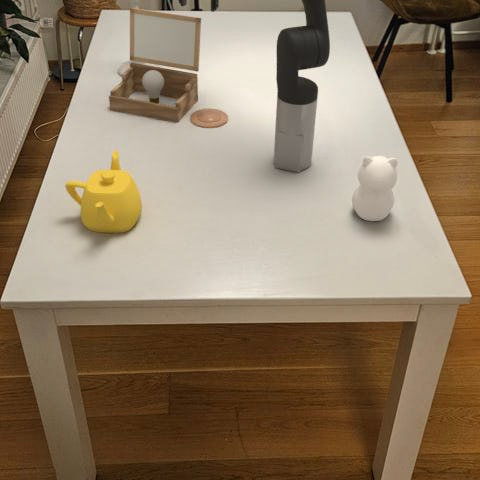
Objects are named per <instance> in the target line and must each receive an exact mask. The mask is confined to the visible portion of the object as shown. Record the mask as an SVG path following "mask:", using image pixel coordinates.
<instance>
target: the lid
mask: <svg viewBox="0 0 480 480" xmlns="http://www.w3.org/2000/svg"><path fill="white" fill-rule="evenodd" d="M201 27H202V17H196V16H190V15H183V14H182V15H181V14H177V13H170V12H169V13H168V12H161V11H157V10H154V11H153V10H150V9H149V10H148V9H143V8H142V9H141V8H139V9H136V8H131V7H130V8H129V61H130V60H132V61H138V62H144V63H149V64H155V65H159V66H160V67H161V66H162V67H168V68H175V69H180V70H187V71H190V72H191V71H192V72H199V71H200V69H199V68H200V49H201V32H202V31H201V29H202V28H201Z"/></svg>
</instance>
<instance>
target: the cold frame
mask: <svg viewBox="0 0 480 480" xmlns="http://www.w3.org/2000/svg"><path fill="white" fill-rule="evenodd" d="M151 70H155V71H158V72H160V73H161V74H162V76H163V78H164V86H163V88H162V90H161V92H160V96H159V97H165V98H171V99H176V100H177V101H175V102H174V106H173V105H167V104H162V103H159V104H158V103H152V102H150V101H147V100H141V99H135V98H129V97H130V96H131V95H133V93H135V92H139V93H142V94H148V93H147V91H146V89H145V88H144V87H143V84H142V79H143V76H144V74H145V73H146V72H148V71H151ZM198 79H199V78H198V73H194V72H190V71H189V72H188V71H183V70H182V71H181V70H176V69H172V68H171V69H170V68H163V67H161V66H160V67H154V66H148V65H142V64H136V63H130V68H129V69H128V70H126V71H125V72H124V73H123V74H122V77H121V81H120V83H118V84H117V85H116V86H115V87H114V88H112V89H111V90H110V95H108V102H109V110H111V111H113V112H118V113H125V114H131V115H135V116H140V117H145V118H146V117H147V118H151V119H156V120H161V121H166V122H172V123H179V122H180V120H181V119H182V118H183V117H184V116H185V115H186V114H187V113H189V111H190V110H191V109H192V108H193V107H194V106H195V105H196V104H197V102H198V101H199V96H198V95H199V92H198V91H199V90H198V89H199V88H198V87H199V85H198ZM194 104H195V105H194ZM193 105H194V106H193ZM192 106H193V107H192ZM191 107H192V108H191Z"/></svg>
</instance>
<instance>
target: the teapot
mask: <svg viewBox="0 0 480 480" xmlns="http://www.w3.org/2000/svg"><path fill="white" fill-rule="evenodd" d="M119 154H120V153H119V151H118V150H117V149H116V150H114V151H113V152H112V154H111V162H110V169H100V170H95V171H94V172H93V173H92V174H90V176H89V177H88V179H87V181H86V182H84V181H79V180H69V181H67V182H66V183H65V190H66V192H67V194H68V195H69V196H70V197H71V198H72V199H73V200H74V201H75V202H76V203H77V204H78V205H79V206H80V217H81V221H82V224H83V225H84V227H86V229H88V231H90V230H91V232H93V231H94V232H93V233H101V232H102V233H103V234H104V233H105V234H120V233H125V232H129V231H130V230H132V229H133V227H134V226H135V225H136V223H137V222H138V220H139V218H140V216H141V214H142V208H143V203H142V198H141V194H140V191H139V188H138V186H137V184H136V182H135V179H133V176H132V175H131V174H130V172H129V171H126V170H122V169H121V165H120V160H119V159H120V158H119V156H120V155H119ZM76 188H81V189H83V191H82V196H81V195H79V193H78V192H77V190H76Z"/></svg>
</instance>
